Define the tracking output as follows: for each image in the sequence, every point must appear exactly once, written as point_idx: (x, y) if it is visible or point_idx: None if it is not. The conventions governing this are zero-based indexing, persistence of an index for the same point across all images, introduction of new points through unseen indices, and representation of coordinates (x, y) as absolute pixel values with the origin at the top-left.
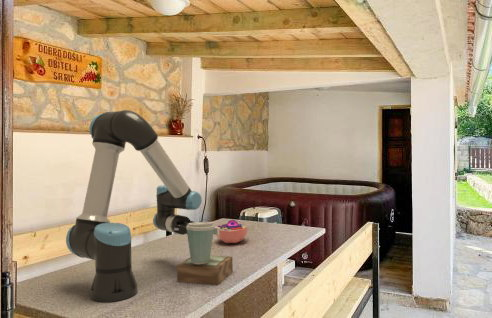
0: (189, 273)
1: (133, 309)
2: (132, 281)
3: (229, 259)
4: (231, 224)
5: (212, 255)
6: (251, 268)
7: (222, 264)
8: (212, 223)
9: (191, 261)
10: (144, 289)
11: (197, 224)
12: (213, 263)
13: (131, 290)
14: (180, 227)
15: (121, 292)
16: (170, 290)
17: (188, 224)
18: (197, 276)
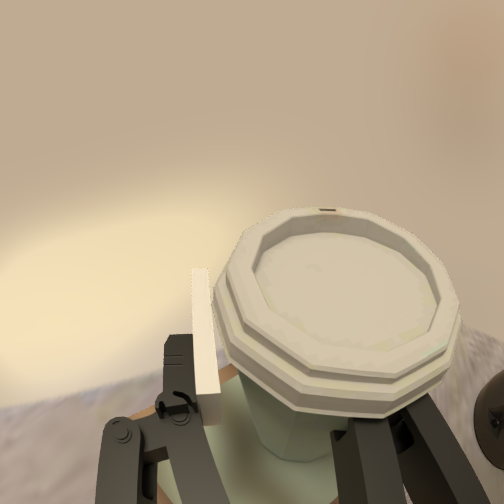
0: None
1: (463, 335)
2: (500, 384)
3: (140, 412)
4: None
5: (171, 501)
6: (58, 423)
7: (218, 371)
8: (264, 222)
9: (327, 468)
10: (460, 436)
11: (388, 222)
12: None
13: (488, 384)
14: (481, 501)
15: (501, 371)
16: None
17: (450, 281)
18: None
